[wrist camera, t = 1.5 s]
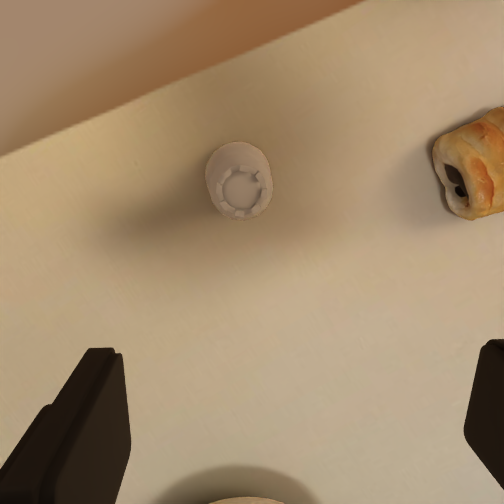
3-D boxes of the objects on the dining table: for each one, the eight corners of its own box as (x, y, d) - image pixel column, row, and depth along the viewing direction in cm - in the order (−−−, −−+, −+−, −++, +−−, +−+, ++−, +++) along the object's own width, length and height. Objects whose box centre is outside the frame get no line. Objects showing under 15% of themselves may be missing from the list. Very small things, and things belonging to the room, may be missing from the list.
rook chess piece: (224, 218, 27) (223, 251, 19) (193, 160, 26) (178, 171, 18) (281, 188, 27) (302, 210, 19) (252, 128, 25) (262, 126, 18)
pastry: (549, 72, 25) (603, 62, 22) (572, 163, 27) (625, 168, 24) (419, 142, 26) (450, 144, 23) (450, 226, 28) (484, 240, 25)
